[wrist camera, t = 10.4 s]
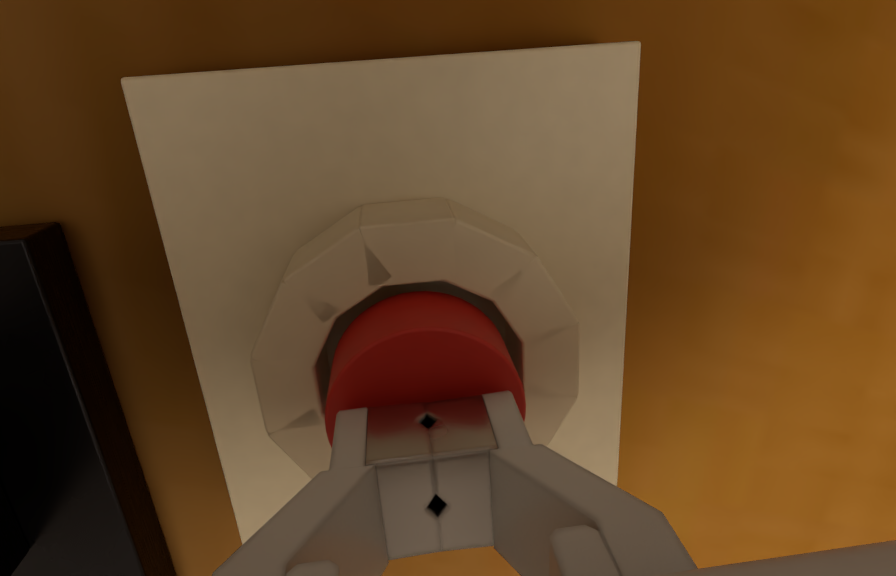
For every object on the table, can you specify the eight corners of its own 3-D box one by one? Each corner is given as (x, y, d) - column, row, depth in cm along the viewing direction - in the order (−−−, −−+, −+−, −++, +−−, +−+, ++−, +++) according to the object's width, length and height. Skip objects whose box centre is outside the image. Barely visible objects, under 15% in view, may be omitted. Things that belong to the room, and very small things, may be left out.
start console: (160, 75, 13) (68, 79, 9) (602, 43, 13) (688, 36, 10) (262, 505, 17) (229, 628, 13) (589, 462, 18) (644, 567, 14)
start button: (320, 299, 11) (309, 340, 9) (504, 280, 11) (525, 316, 10) (344, 453, 12) (339, 512, 11) (509, 432, 13) (528, 487, 11)
